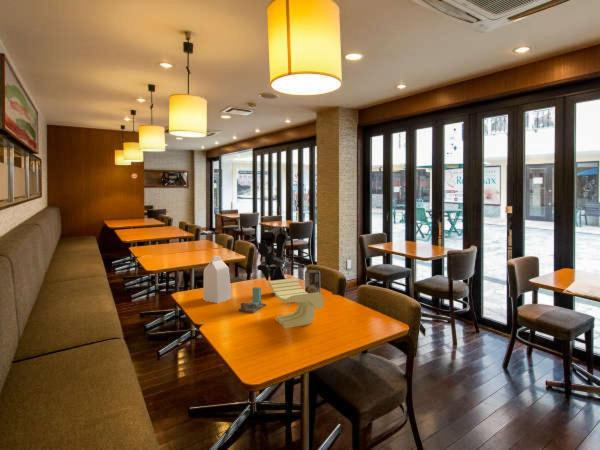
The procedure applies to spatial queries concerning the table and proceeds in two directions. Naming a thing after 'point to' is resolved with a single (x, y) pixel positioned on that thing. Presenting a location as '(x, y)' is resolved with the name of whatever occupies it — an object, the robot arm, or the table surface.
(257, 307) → the bracket
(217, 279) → the milk
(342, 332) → the table surface
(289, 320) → the slatted curved stool
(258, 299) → the teal block
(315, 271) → the coffee box
